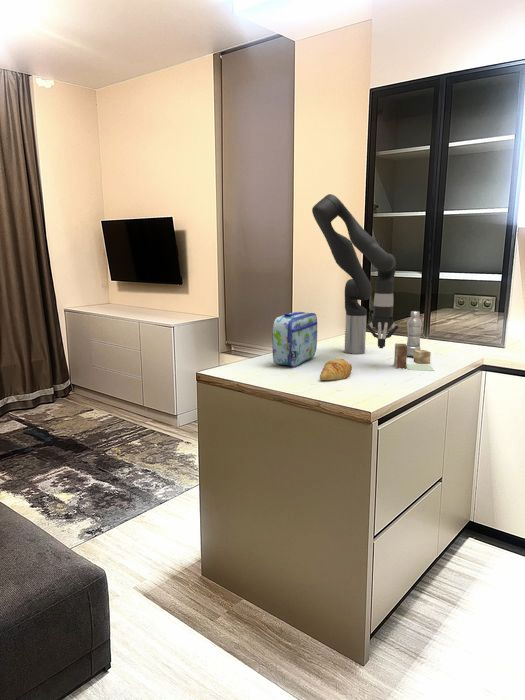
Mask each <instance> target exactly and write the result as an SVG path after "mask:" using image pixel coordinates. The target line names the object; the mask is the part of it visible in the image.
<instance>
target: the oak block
mask: <svg viewBox="0 0 525 700" xmlns="http://www.w3.org/2000/svg"><path fill="white" fill-rule="evenodd" d="M431 353H432V352H431V351H429V350H427V349H421V350H414V357H413V363H415V364H420V365H431V356H432V355H431Z"/></svg>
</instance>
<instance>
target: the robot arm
mask: <svg viewBox="0 0 525 700" xmlns="http://www.w3.org/2000/svg"><path fill="white" fill-rule="evenodd" d="M311 212H312V213H311V214H312V216H313V218H314V220H315V222H316V224H317V225H318V227H319V230H320V232H321V233H322V234H323V236H324V238H325V240H326V242H327V245H328V246H329V249H330V252H331V255H332V256H333V259H334V261H335V263H336V264H337V266H338V267H339V268H340V269H341V270H342V271H343V272H345V273H346V274H347V275H349V276H350V279H348V280H347V281H346V282H345V285H344V310H345V327H344V329H345V331H344V350H343V351H344V354H351V353H352V355H354V354H355V355H358V354H364V353H366V336H367V333H366V332H367V329H368V330H369V332H370V333H371V335H372V336H373V338H376V339H377V347H378V348H379V349H384V348H385V347H386V339H389V338H391V337H392V335H394V333H395V332H397V330H398V329H399V325H398V324H396V323H395V321H394V319H393V316H394V315H393V314H394V282H395V281H394V279H395V274H396V267H397V261H396V258H395V256H394V255H393V254H392V253H388V252H387V251H385V250H384V249H383V248H382V247H381V246H380V245H379V242H378V241H376V239H374V237H372V236H371V235H370V234H369V233H368V232H367V231H366V230H365V229H364V228H363V227H362V226H361V225H360V223H359V222H358V220H357V219H356V218H355V217H354V216H353V214H352V213H351V212H350V211H349V209H348V207H346V206H345V205H344V203H343V202H342V201H341V200H340V199H339V197H337V196H336V195H335V194H332V193H330V194H326V195H325V196H324V197H322V198H321V199H320V200H319V201H318V202H317V203H315V204H314V205H313V206H312V209H311ZM337 217H339V218H341V220H342V222H344V224H345V226H346V229H347V234H348V237H349V238H348V237H346V236H344V235H343V234H340V233H339V232H337V231H336V230H335V228H334V227H333V225H332V222H333V221H334V220H335V219H336V218H337ZM355 248H356V249H357V250H358V251H359V252H360V253H361V254H362V255H364V257H366V258H367V260H368V261H369V262H370V264H372V266H373V267H374V268H375V269H376V270H377V278H376V280H375V286H374V296H373V297H374V298H373V310H372V311H373V313H372V319H371V322H369V323H367V313H368V309H367V308H365V307H364V306H362V305H361V304H360V303H359V301H367V300H369V299H370V298H371V296H372V293H373V289H372V285H371V281H370V280H369V278H368V277H367V274H366V272H365V271H364V268H363V267H362V264H361V262H360V261H359V260H360V259H359V258H358V256H357V253H356V250H355ZM373 327H374V328H375V329H376V330H377V333H376V332H375V330H374V329H373ZM390 328H391V330H390V331H389V332H388V330H389V329H390ZM387 332H388V333H387Z"/></svg>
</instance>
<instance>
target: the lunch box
mask: <svg viewBox="0 0 525 700" xmlns="http://www.w3.org/2000/svg"><path fill="white" fill-rule="evenodd" d="M271 334H272V336H271V337H272V338H271V339H272V360H273V364H275V365H283V366H288V367H291V368H296V367H298V366H299V365H301V364H303V363H304V362H306V361H309V360H310V359H312V358H314V357H315V355H316V353H317V345H318V317H317V314H316V313H315V312H311V313H310V312H305V311H296V312H290V313H284V314H283V315H280V316H277V317H276V318H275V319H274V321H273V324H272V333H271Z"/></svg>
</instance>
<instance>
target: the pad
mask: <svg viewBox="0 0 525 700" xmlns="http://www.w3.org/2000/svg"><path fill="white" fill-rule="evenodd" d="M406 369H407V371H429V372H431V371H435V369H434V367H433V366H431V364H417V363H415V364H414V363H406Z"/></svg>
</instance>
